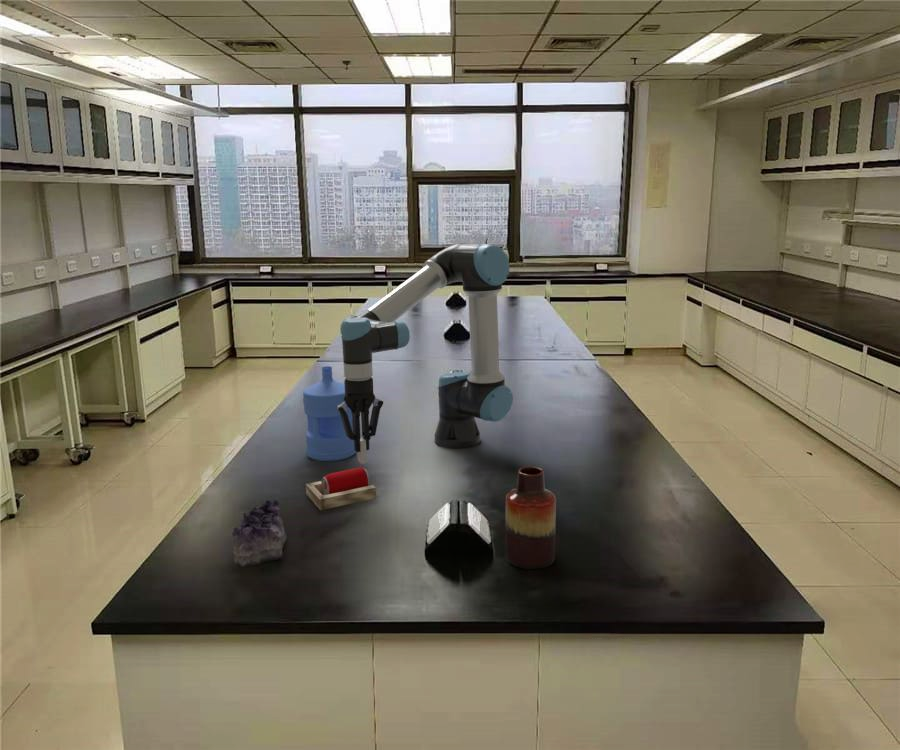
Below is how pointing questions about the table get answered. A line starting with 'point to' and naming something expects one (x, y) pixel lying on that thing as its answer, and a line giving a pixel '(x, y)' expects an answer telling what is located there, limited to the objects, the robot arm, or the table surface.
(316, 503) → the u rest
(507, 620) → the table surface
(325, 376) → the water jug
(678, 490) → the table surface
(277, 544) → the geode
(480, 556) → the table surface
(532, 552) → the vase
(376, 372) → the table surface
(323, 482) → the beverage can
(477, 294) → the robot arm
